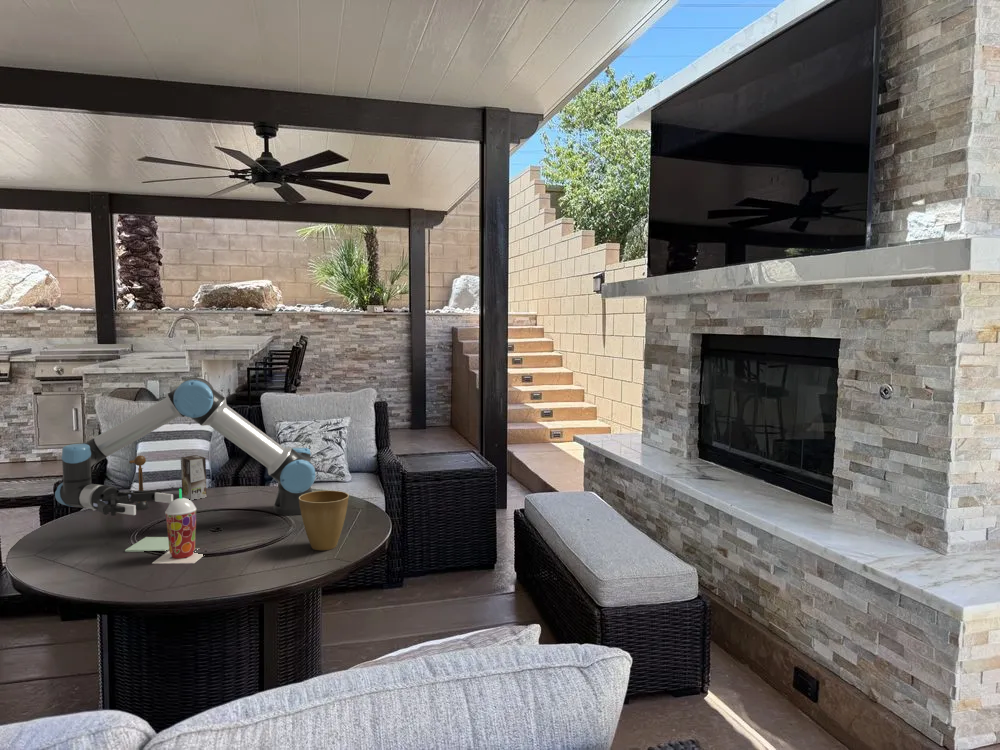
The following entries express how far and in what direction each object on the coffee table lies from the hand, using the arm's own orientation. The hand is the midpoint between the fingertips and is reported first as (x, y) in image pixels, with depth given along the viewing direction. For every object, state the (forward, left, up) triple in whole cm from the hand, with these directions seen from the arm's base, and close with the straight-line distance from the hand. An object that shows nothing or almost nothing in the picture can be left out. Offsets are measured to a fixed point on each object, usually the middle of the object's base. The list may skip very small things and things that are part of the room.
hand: (154, 504), depth 196 cm
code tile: (-9, +3, -15) cm, 18 cm away
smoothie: (-9, +3, -15) cm, 18 cm away
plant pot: (-49, -5, -15) cm, 52 cm away
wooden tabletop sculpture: (+30, -48, -15) cm, 58 cm away
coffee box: (+17, -64, -15) cm, 68 cm away
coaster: (+4, -7, -15) cm, 17 cm away
